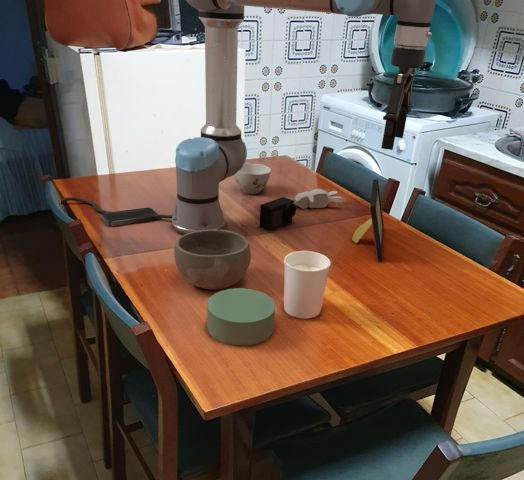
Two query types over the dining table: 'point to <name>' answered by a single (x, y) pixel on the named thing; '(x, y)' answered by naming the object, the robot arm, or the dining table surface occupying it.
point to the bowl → (212, 258)
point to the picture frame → (373, 222)
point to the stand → (240, 316)
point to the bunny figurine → (315, 198)
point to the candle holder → (305, 283)
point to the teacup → (252, 177)
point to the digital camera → (276, 213)
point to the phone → (129, 216)
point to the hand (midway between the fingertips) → (392, 142)
